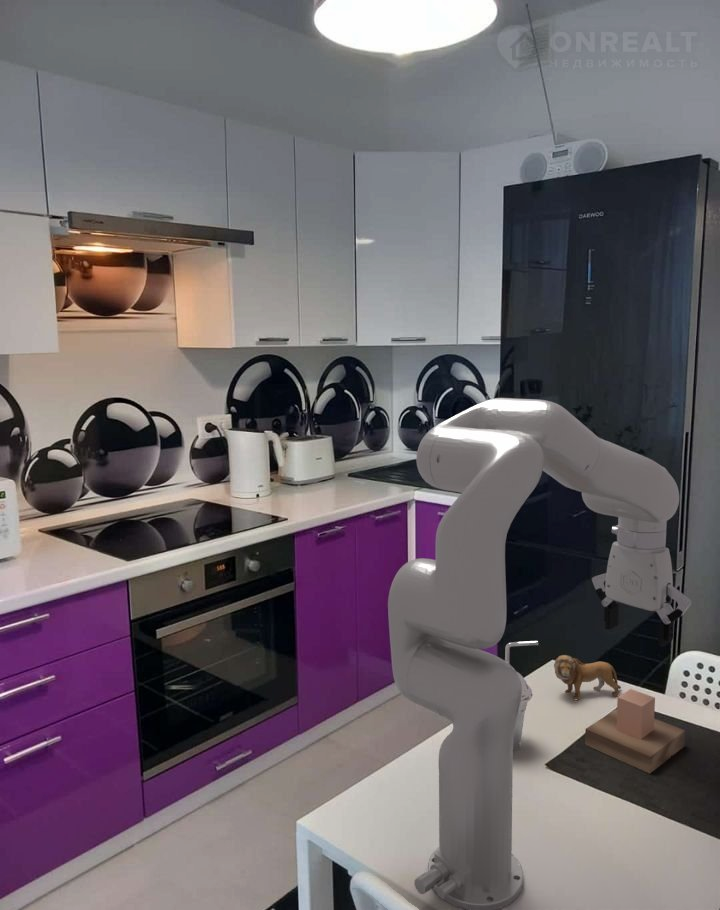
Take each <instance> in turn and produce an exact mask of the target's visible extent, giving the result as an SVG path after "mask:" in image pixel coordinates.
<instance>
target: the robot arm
mask: <svg viewBox="0 0 720 910" xmlns="http://www.w3.org/2000/svg"><path fill="white" fill-rule="evenodd" d="M415 461H416V467H417V470H418V472H419V473H418V474H419V475H420V476H421V479H423V480H424V481H425V483H426V484H428V485H429V486H431V487H433V488H436V489H438V490H439V489H440V490H443V491H449V492H455V493H456V492H457V493H461V494H460V495H459V496H458V497H457V498H456V500H455V501H454V502H453V503H452V505H450V506H449V508H448V509H447V510H446V511H445V513H444V515H443V516H442V518H441V520H440V521H439V523H438V525H437V530H436V532H435V533H436V534H435V559H432V558H424V557H423V558H421V557H420V558H414V559H412V560H410V561H407V562H405V564H403V565H402V566H401V567H400V568H399V570H397V572H396V573H395V576H394V578H393V580H392V582H391V585H390V588H389V593H388V598H387V609H388V613H387V614H388V615H387V617H388V629H389V631H388V632H389V644H390V657H391V667H392V668H391V669H392V675H393V681H394V683H395V685H396V689H397V690H398V692H399V693H400V694H401V695H402V696H403V697H404V698H406V699H407V700H408V701H410V702H412V703H415V704H417V705H418V706H420V707H422V708H425V709H427V710H429V711H432V712H433V713H435V714H437V715H439V716H441V717H443V718H445V719H448V721H450V722H451V723H452V730H451V731H450V733H449V734H447V736H445V738H444V739H443V741H442V743H441V745H440V748H439V751H438V827H439V828H438V833H439V835H438V837H439V839H438V841H439V843H438V844H439V846H438V847H437V848H436V849H435V850H433V852H432V854H431V856H430V857H429V859H428V862H427V871H426V872H424V873H423V874H421V875H419V876H418V877H416V878H415V880H414V887H415V889H416V891H417V892H418V893H419V894H420V895H425V894H426V893H428V892H429V891H430V890H431V889H433V891H434V892H435V893H436V894H437V895H438V897H439V898H440V899H443V900H444V901H446V902H447V903H449V904H451V905H453V906H455V907H457V908H460V909H464V910H498V909H501V908H504V907H506V906H507V905H510V904H511V903H513V902H514V901H515V900H516V899H517V898H518V896H519V895H520V894H521V892H522V890H523V886H524V871H523V867H522V864H521V862H520V861H519V860H518V858H517V857H516V856H515V855H514V853H512V849H513V848H512V847H513V846H512V845H513V843H512V842H513V765H514V764H513V760H514V759H513V757H514V756H513V755H514V751H513V741H514V732H515V725H516V720H517V716H518V711H519V707H520V702H521V695H522V685H521V680H520V678H519V675H518V674H517V672H518V671H517V670H515V668H514V667H513V666H512V665H511V664H510V663H509V664H508V663H507V662H506V661H505V659H502V658H501V657H499V656H497V655H495V654H492V653H490V652H487V651H485V650H486V649H488V648H489V649H490V648H492V647H494V646H495V645H497V644H498V643H499V642H500V641H501V639H502V638H503V635H504V634H505V630H506V624H507V581H506V577H507V576H506V542H507V541H506V540H507V534H508V532H509V529H510V527H511V524H512V522H513V520H514V519H515V517H516V515H517V513H518V512H519V511H520V509H521V507H522V506H523V505H524V503H525V502H526V500H527V499H528V498H529V497H530V495H531V494H532V493H533V491H534V490H535V488H536V487H537V485H538V484H539V481H540V480H541V477H542V474H543V472H544V473H546V474H547V475H548V476H550V477H552V479H554V480H556V482H558V483H559V484H561V485H562V486H564V487H565V488H569V489H570V490H575V491H577V492H580V493H581V497H582V501H583V502H584V504H585V506H586V507H587V508H588V509H589V510H591V511H593V512H594V513H597V514H601V515H605V516H610V517H616V518H618V520H617V521H618V523H617V525H612V527H611V533H612V534H613V535H614V534H615V535H616V541H613V543H612V544H611V548H610V552H609V555H608V556H609V557H608V560H607V566H606V572H605V573H602V574H599V575H595V576H593V577H592V578H591V581H592V584H593V586H594V589H595V594H596V595H597V596H598V597H599V599H600V601H601V605H602V606H603V607H604V616H603V617H604V618H603V620H604V621H603V622H604V629H605V630H608V631H609V630H611V629H613V628H615V627H618V625H619V612H620V610H619V608H620V607H619V603H620V604H622V605H623V604H624V605H627V606H631V607H634V608H638V609H642V610H645V611H649V612H656V613H657V614H658V616H659V618H660V620H661V621H660V622H659V623H658V635H657V636H658V637H657V638H658V639H657V644H658V646H660V647H664V646H666V645H668V644H670V643H671V642H672V641H673V639H674V632H675V631H674V629H675V628H674V627H675V621H677V620H678V619H679V618H681V617H682V616H684V615H685V614H686V613H687V612H686V611H688V609H689V608H690V607H691V605H692V600H691V599H690V598H689V597H688V596H686V595H685V594H684V593H683V592H681V591H680V590H679V589H677V588H676V587H675V586H673V585H674V582H673V578H674V577H673V567H672V558H671V554H670V549H669V548H668V547H666V546H667V545H666V543H667V541H666V540H667V523H668V521H669V520H670V519H671V518H673V516H674V515H675V514H676V511H677V510H678V507H679V504H680V491H679V487H678V485H677V482H676V481H675V479H674V477H673V476H672V475H671V474H670V473H669V471H668V470H667V469H666V467H664V466H662V465H660V464H659V463H658V462H656V461H655V460H653V459H651V458H649V457H647V456H644V455H642V454H639V453H637V452H635V451H631V450H629V449H628V448H625V447H622V446H620V445H618V444H616V443H613V442H611V441H608V440H605V439H602V438H600V437H599V436H597V435H596V434H595V433H594V432H593V431H592V430H590V429H589V428H588V427H587V426H586V425H585V424H584V423H582V422H581V420H579V419H578V418H576V417H575V416H574V415H573V414H572V413H571V412H569V411H568V410H567V409H566V408H564V407H563V406H562V405H560V404H558V403H556V402H553V401H550V400H544V399H534V398H533V399H532V398H515V397H514V398H512V397H511V398H509V397H496V398H490V399H487V400H483V401H482V402H481V401H480V402H479V403H477V404H475V405H473V406H471V407H469V408H467V409H465V410H462V411H461V412H459V413H457V414H455V415H454V416H452V417H450V418H447V419H446V420H444V421H441V422H440V423H439V424H436V425H435V426H434V427H432V428H431V429H429V430H428V431H427V432H426V434H425V435H424V436H423V437H422V439H421V441H420V443H419V445H418V448H417V453H416V459H415ZM604 583H605V584H604ZM672 600H674V601H675V602H676V603H677V606H676V608H675V609H673V607H672V605H671V604H672V602H673V601H672Z"/></svg>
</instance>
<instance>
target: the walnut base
mask: <svg viewBox="0 0 720 910" xmlns="http://www.w3.org/2000/svg"><path fill="white" fill-rule="evenodd" d="M616 727H617V708H616V709H613V710H612V711H610V712H608V714H606V715H605V716H602V718H600V719H599V720H596V722H594V723H592V724H591V725H589V726H588V727H586V728H584V729H585V732H584V734H585V737H584V745H585V746H587V747H589V748H592V749H593V750H596V751H598V752H601V753H603V754H605V755H606V756H609V757H611V758H614V759H616V760H619V761H620V762H622V763H625V764H628V765H629V766H631V767H634V768H637V769H639V770H640V771H643V772H645V773H647V774H650V775H651V773H653V772H654V771H655V770H657V769H658V768H659V767H660V766H662V765H664V763H666V761H668V760H669V759H671V758H672V757H673V756H674V755H675V754H677V753H678V752H679V751H680V750H682V749H683V748H684V747H685V742H686V741H685V740H686V739H685V738H686V730H685V729H682V728H680V727H678V726H675V725H672V724H671V723H667V722H664V721H663V720H660V719H657V718H655V717H654V730H653V731H651V732H650V733H649V734H647V735H646V736H645V737H643V738H642V739H638V738H636V737H634V736H631V735H629V734H626V733H624V732H621V731H619V730H617V729H616ZM671 756H672V757H671Z"/></svg>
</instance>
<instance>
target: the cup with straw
mask: <svg viewBox="0 0 720 910" xmlns="http://www.w3.org/2000/svg"><path fill="white" fill-rule="evenodd" d="M539 645H540V643H539V640H529V641H528V640H527V641H513V642H508V643H507V644H506V645H505V649H504V650H505V652H504V653H505V655H504V656H505V657H504V661H506V662H507V663H508V664H510V648H511V647H523V646H524V647H525V646H526V647H527V646H539ZM516 672H517V674H518V675H519V678H520V680H521V685H522V695H521V702H520V707H519V711H518V716H517V720H516V725H515V732H514V741H513V752H516V751H519V750H520V748H521V744H520V743H521V742H522V734H523V730H524V729H523V727H524V720H525V719H524V718H525V714H526V713H525V712H526V711H527V706H528V703H529V702H530V701H531V700H532V699H533V691H532V687H530V685H529V684H528V683H527V682H526V680H525V678H524V676H522V674H521V673H520V672H518V671H516Z"/></svg>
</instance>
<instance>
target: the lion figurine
mask: <svg viewBox="0 0 720 910" xmlns="http://www.w3.org/2000/svg"><path fill="white" fill-rule="evenodd" d="M553 668H554V674H555V676H556V679H559V680H560V681H562V682H563V683H564V684H565V685H567V689H566V690H565V691H564V693H565V692H566V693H571V694H572V691H573V687H574V695H572V699H573V698H574V699H573V700H575V699H577V700H576V701H578V700H579V699H580V696H581V695H580V694H581V687H582V684H583V683H589V682H593V681H595V680H596V679H598V684H597V686H593V688H592V689H593V691H595V690H596V692H598V691H600V690H601V689H602V688H603V687H604V686H605V684H606V685H607V686H609V687H610V688H611V689H613V690H614V691H611V696H612V697H614V698H615V697H616V698H618V697H619V692H620V691H619V690H621V688H622V687H621V685H619V684H618V677H617V673H616V671H615V669H614V667H613V665H611V664H610V663H609V662H605V661H595V662H592V663H591V662H590V663H584V662H582V661H581V660H579V659H578V658H574V657H572V656H571V655H567V654H562V655H559V656H558V657H557V658H556V659H555V661H554V664H553ZM566 693H565V694H566Z"/></svg>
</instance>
